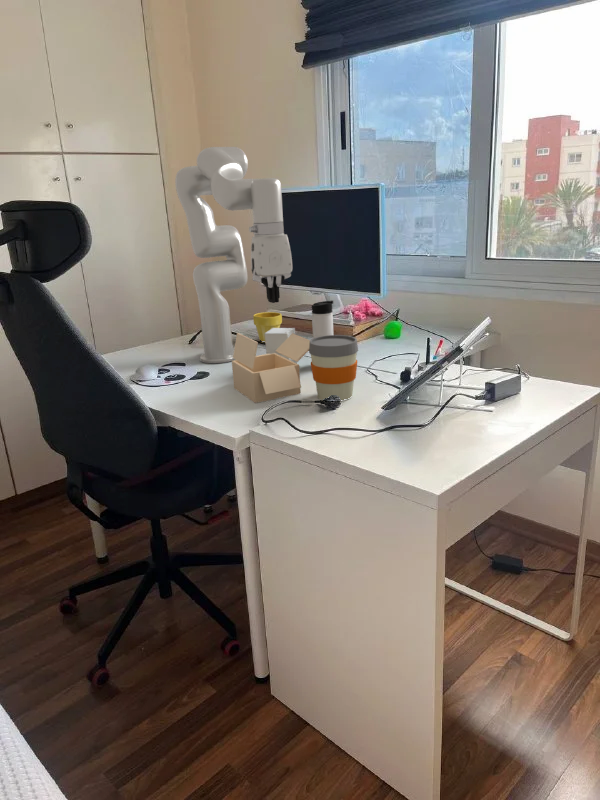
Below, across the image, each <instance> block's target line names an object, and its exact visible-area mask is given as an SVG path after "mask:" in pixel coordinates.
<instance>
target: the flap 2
mask: <svg viewBox="0 0 600 800" xmlns="http://www.w3.org/2000/svg"><path fill="white" fill-rule="evenodd" d="M310 340H311V339H307V338H305V337H303V336H300V335H297V334H296V333H295V334H293V333H292V334H291V335H290V336H289V337H288V338H287V339H286V340H285V341H284V342H283V343H282V344H281V345H280V346H279V347H278V348H277V350H276V352H278V353H280V354H282V355H285V356H287V357H289V358H291V359H293V360H295V361H297V363H298V362H299V361H300V360H301V359H302V358H303V357H304V356H306V354H307V353H309V344H310Z"/></svg>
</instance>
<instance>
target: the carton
mask: <svg viewBox="0 0 600 800" xmlns="http://www.w3.org/2000/svg"><path fill="white" fill-rule="evenodd" d="M231 367H232V368H231V369H232V378H233V379H232V380H233V388H234V389H235V390H236V391H237V392H239V393H240V394H242V395H243V396H244V397H246V398H247V399H249V400H250V401H252V402H254V403H255V404H258V403H262V402H266V401H272V400H276V399H280V398H286V397H291V396H295V395H301V394H302V393H301V388H302V386H301V375H300V373H301V372H300V364H298V363H297V364H296V363H294V362H292V361H290V360H288V359H286V358H284V357H282V356H280V355H278V354H276V353H273V354H266V353H264V354H259V355H256V357H255V363H254V369H251V368H249V367H248V366H246V365H244V364H243V363H241V362H239V361H237V360H236V359H235V360H233V361H231ZM300 393H301V394H300Z"/></svg>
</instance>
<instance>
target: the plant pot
mask: <svg viewBox="0 0 600 800" xmlns="http://www.w3.org/2000/svg"><path fill="white" fill-rule="evenodd" d="M252 316H253V317H252V318H253V319H252V320H253V325H254V326H255V328H256V331H257V335H258V340H259V341H260V340H261V341H265V334H264V333H266V332H267V331H269V330H271V329H272V328H281V324H282V323H283V316H282V313H280V312H278V311H277V312H276V311H265V312H259V313H255V314H253V315H252Z"/></svg>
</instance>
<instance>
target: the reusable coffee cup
mask: <svg viewBox="0 0 600 800" xmlns="http://www.w3.org/2000/svg"><path fill="white" fill-rule="evenodd" d="M309 340H310V344H309V351H308V353H309V355H310V357H311V361H310V368H311V373H312V379H313V381H314V382H315V386H316V392H317V399H318V400H320V401H323V399H325V398H328V397H329V396H331V395H337V396H339V397H340V399H341V400H344V399H348V398H350V397H351V396H352V397H353V393H354V382H355V380H356V378H357V370H358V360H357V354H358V351H359V346H358V339H357V337H354V336H352V335H346V334H345V335H344V334H333V335H327V336H320V337H316V338H313V337H312V339H309ZM350 399H351V398H350ZM348 400H349V399H348Z"/></svg>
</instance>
